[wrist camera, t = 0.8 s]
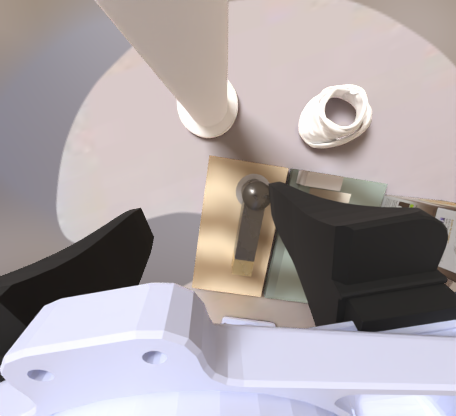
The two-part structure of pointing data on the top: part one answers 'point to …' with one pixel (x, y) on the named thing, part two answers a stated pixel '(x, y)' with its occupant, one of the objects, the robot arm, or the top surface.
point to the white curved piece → (327, 130)
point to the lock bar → (249, 226)
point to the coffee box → (442, 210)
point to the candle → (184, 55)
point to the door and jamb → (229, 219)
